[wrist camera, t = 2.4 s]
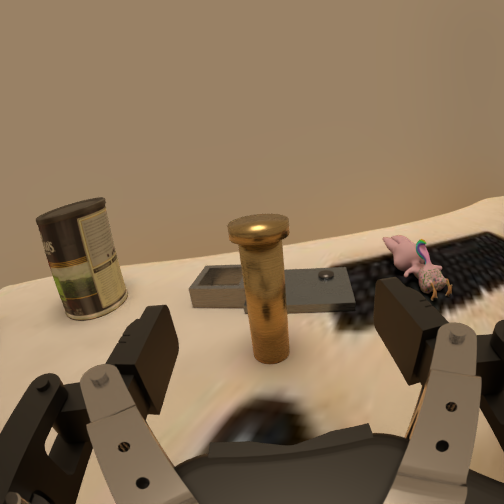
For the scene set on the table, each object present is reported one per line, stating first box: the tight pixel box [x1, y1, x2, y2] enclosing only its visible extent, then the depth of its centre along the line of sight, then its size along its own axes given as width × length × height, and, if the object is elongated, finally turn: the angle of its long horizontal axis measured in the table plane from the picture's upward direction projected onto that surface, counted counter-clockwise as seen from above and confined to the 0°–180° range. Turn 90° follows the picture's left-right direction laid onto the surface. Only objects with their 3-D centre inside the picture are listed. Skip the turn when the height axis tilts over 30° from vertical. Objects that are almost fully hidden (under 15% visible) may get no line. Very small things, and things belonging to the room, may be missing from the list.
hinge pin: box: [228, 214, 289, 364], centre depth 23 cm, size 4×4×12 cm
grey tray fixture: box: [189, 265, 355, 313], centre depth 35 cm, size 19×9×2 cm, turn 80°
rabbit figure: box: [383, 235, 452, 301], centre depth 34 cm, size 6×6×15 cm
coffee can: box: [36, 197, 128, 320], centre depth 35 cm, size 10×10×14 cm
